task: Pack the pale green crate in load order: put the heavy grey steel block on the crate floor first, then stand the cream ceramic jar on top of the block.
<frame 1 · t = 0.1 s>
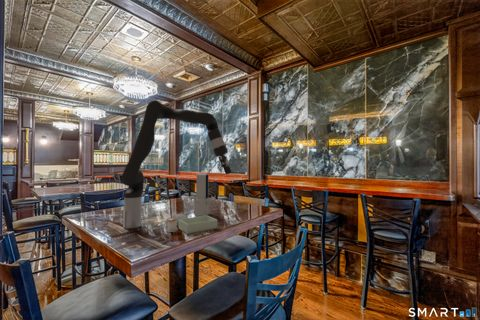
hand: (228, 173, 123), 31 cm above the table, tool tilted 20°, fingers open, 8 cm apart
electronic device: (201, 215, 157), on the table
jar: (171, 231, 118), on the table
block: (179, 225, 131), on the table
tote: (198, 228, 124), on the table
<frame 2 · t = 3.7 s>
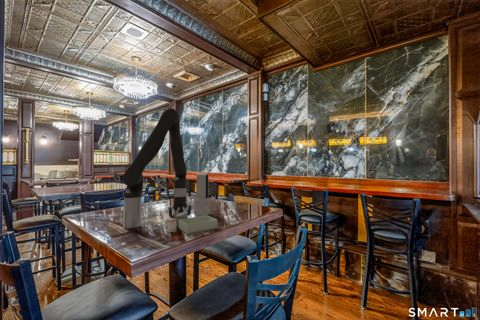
hand: (179, 223, 131), 1 cm above the table, tool pointing down, fingers closed on block, 6 cm apart
block: (179, 224, 131), on the table, touching gripper
everything else where it was.
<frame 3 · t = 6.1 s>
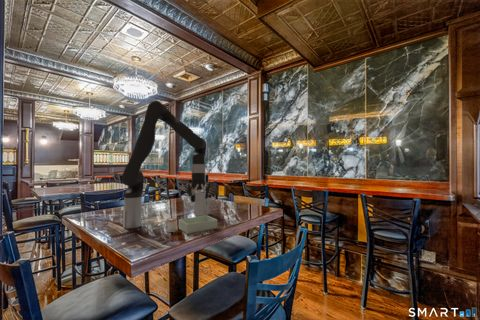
hand: (198, 201, 124), 15 cm above the table, tool pointing down, fingers closed on block, 6 cm apart
block: (198, 203, 124), point 14 cm above the table, touching gripper
everything else where it was.
when the fingers open (3 cm above the table, at t = 8.9 s): block drops 1 cm, resting on tote.
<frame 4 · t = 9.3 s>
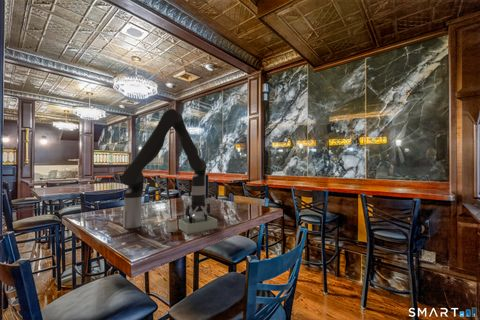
hand: (198, 222, 124), 3 cm above the table, tool pointing down, fingers open, 8 cm apart
block: (197, 227, 124), point 1 cm above the table, touching tote
everything else where it was.
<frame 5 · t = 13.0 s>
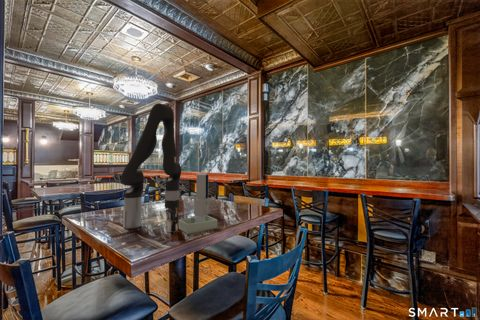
hand: (171, 230, 118), 1 cm above the table, tool pointing down, fingers closed on jar, 4 cm apart
jar: (171, 231, 118), on the table, touching gripper
everything else where it was.
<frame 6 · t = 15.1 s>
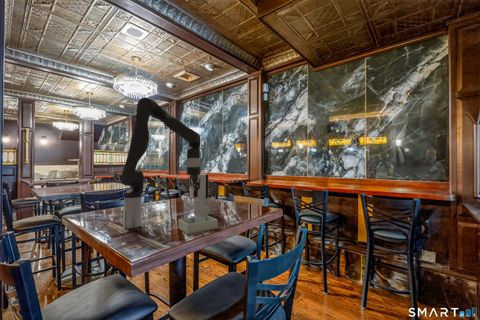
hand: (194, 196, 122), 18 cm above the table, tool pointing down, fingers closed on jar, 4 cm apart
jar: (193, 197, 122), point 18 cm above the table, touching gripper
everything else where it was.
when the fingers open (8 cm above the table, at t = 17.4 s): jar stays where it is, resting on block.
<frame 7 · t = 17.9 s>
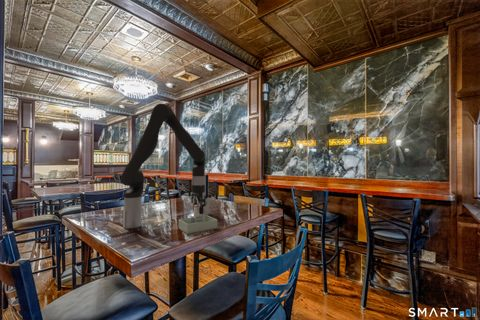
hand: (198, 212, 124), 9 cm above the table, tool pointing down, fingers open, 8 cm apart
jar: (198, 216, 124), point 7 cm above the table, touching block
block: (197, 227, 124), point 1 cm above the table, touching jar, tote
everything else where it was.
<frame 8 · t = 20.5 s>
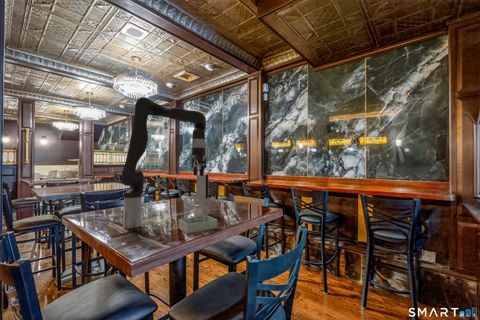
hand: (198, 175, 125), 30 cm above the table, tool pointing down, fingers open, 8 cm apart
nothing on the table moved.
at the end: block inside the target area on the tote (0.1 cm from its centre), point 0.6 cm above the tote's base; jar 0.1 cm off-centre on the block, point 6.0 cm above the block's base; jar tilted 0° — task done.
